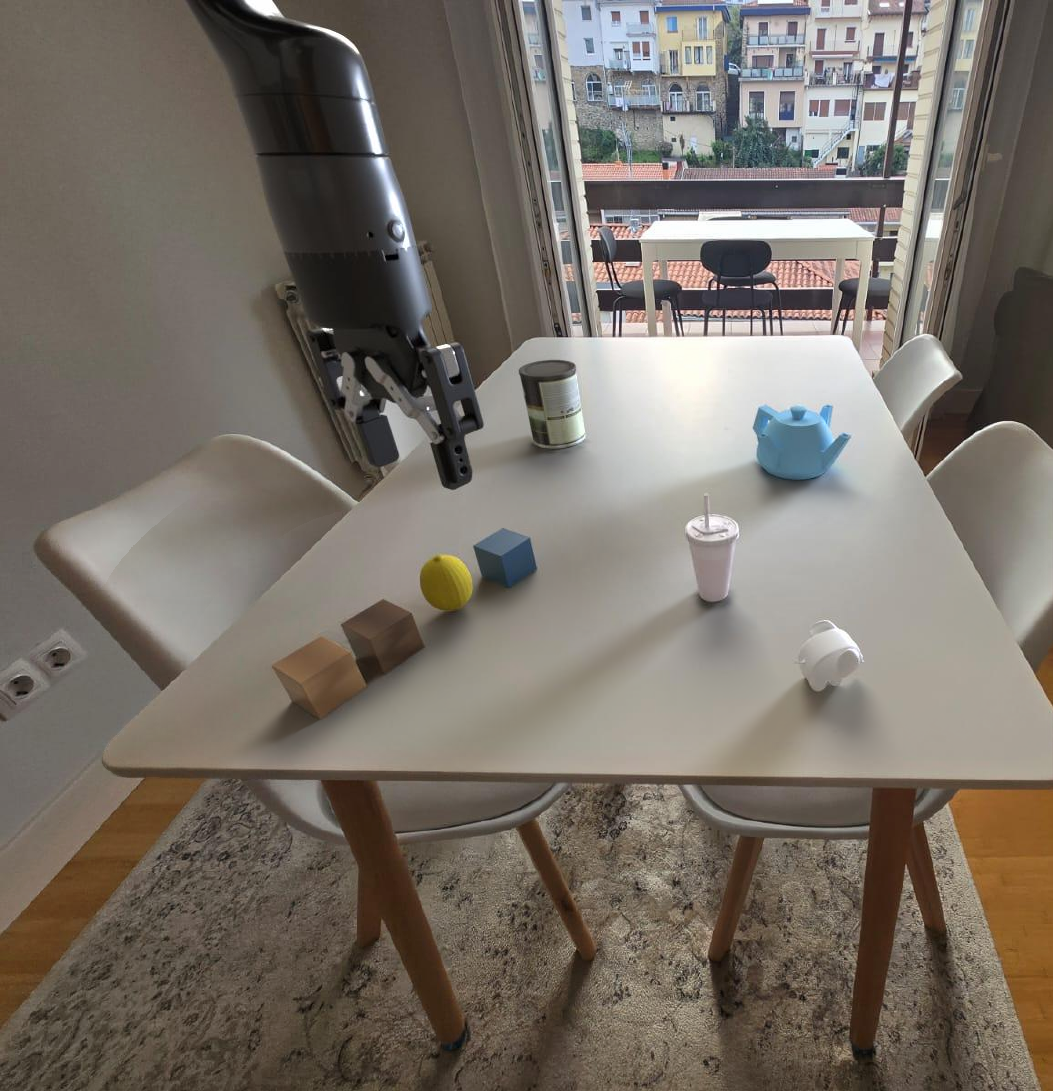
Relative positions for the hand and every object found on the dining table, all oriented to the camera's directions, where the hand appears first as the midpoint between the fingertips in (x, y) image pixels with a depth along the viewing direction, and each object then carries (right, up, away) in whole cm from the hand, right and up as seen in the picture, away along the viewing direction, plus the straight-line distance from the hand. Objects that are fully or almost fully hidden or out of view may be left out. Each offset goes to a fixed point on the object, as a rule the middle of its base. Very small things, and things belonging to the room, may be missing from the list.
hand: (421, 473), depth 46 cm
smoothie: (+22, -12, +29) cm, 38 cm away
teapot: (+36, +9, +60) cm, 71 cm away
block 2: (-14, -18, +20) cm, 30 cm away
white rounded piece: (+34, -20, +17) cm, 43 cm away
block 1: (-17, -21, +15) cm, 31 cm away
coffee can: (-9, +15, +71) cm, 73 cm away
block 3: (-5, -9, +33) cm, 35 cm away
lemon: (-9, -14, +27) cm, 31 cm away
